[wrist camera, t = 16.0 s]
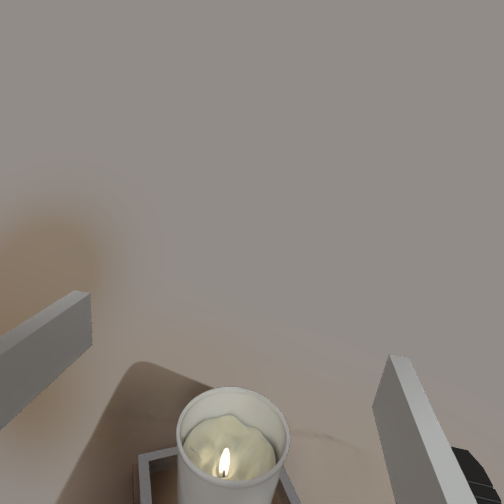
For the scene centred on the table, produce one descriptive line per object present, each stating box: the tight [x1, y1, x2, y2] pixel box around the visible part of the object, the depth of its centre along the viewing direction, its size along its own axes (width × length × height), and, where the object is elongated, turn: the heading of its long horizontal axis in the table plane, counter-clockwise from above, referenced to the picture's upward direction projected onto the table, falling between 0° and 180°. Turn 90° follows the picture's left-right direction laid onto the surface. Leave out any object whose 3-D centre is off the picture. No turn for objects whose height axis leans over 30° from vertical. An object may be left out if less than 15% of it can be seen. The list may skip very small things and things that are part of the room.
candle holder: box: [176, 386, 290, 504], centre depth 30 cm, size 10×10×12 cm
